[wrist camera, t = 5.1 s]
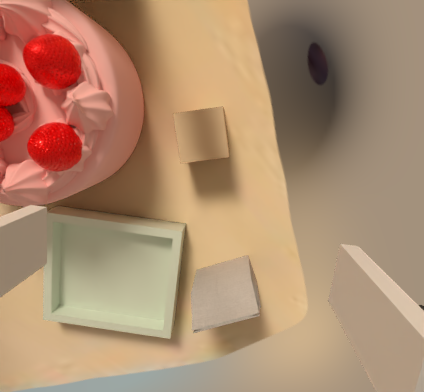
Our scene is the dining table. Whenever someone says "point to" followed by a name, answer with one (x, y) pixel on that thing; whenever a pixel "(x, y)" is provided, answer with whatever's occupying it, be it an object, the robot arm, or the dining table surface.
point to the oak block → (201, 134)
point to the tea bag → (224, 294)
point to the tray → (112, 271)
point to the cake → (62, 102)
